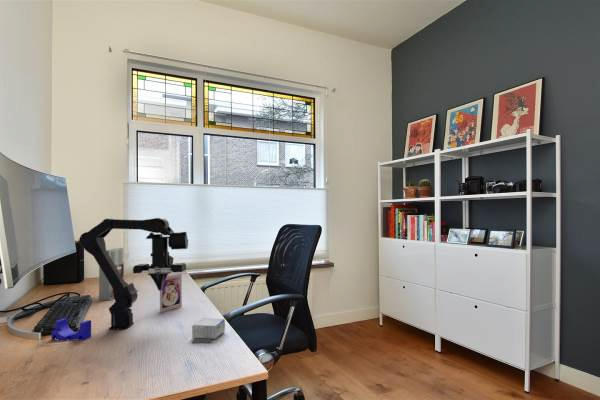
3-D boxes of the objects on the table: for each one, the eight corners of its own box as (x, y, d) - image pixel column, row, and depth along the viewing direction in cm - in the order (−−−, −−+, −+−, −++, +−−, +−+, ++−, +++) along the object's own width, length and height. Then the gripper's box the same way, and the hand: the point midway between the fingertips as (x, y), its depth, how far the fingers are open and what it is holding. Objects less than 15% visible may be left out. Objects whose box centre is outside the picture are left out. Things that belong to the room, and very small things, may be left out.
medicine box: (191, 338, 113) (215, 339, 112) (191, 324, 114) (215, 325, 112) (202, 330, 121) (225, 331, 119) (202, 317, 121) (225, 318, 120)
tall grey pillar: (110, 300, 168) (110, 250, 169) (98, 300, 169) (98, 250, 169) (125, 293, 182) (125, 247, 183) (114, 293, 182) (114, 247, 183)
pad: (191, 343, 110) (191, 342, 110) (203, 328, 124) (203, 327, 124) (209, 342, 110) (209, 341, 110) (220, 327, 124) (219, 327, 124)
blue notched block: (51, 340, 116) (51, 322, 116) (63, 335, 120) (63, 318, 120) (80, 342, 113) (80, 324, 113) (91, 337, 117) (91, 320, 118)
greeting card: (161, 312, 145) (161, 277, 145) (150, 310, 149) (150, 276, 149) (183, 306, 155) (182, 273, 155) (172, 304, 158) (172, 272, 159)
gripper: (190, 247, 139) (190, 285, 138) (145, 248, 139) (145, 286, 138) (181, 250, 128) (181, 291, 127) (132, 251, 128) (132, 292, 127)
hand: (160, 290), depth 130 cm, fingers closed
